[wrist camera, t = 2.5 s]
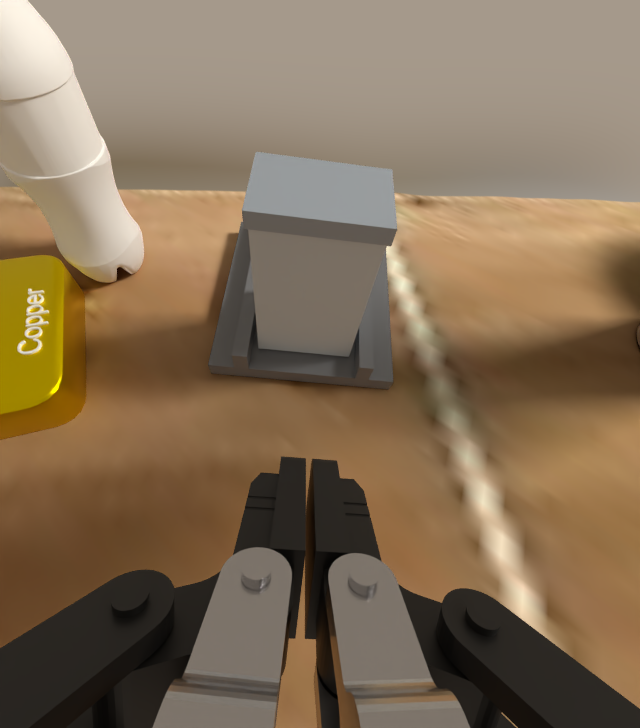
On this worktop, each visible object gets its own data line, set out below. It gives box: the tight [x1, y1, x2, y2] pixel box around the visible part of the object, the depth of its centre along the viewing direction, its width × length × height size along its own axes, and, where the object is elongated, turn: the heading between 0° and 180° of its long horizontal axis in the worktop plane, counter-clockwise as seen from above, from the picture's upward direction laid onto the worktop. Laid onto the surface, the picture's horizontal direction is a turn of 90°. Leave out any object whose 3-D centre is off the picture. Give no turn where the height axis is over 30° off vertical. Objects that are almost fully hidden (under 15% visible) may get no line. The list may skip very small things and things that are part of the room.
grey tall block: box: [242, 152, 397, 357], centre depth 27 cm, size 8×5×14 cm, turn 87°
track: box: [208, 222, 393, 389], centre depth 35 cm, size 16×18×4 cm
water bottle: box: [0, 0, 144, 283], centre depth 26 cm, size 7×7×25 cm
